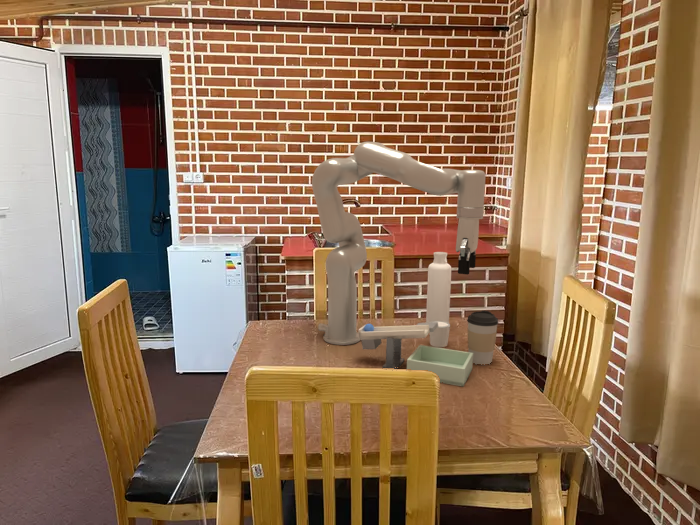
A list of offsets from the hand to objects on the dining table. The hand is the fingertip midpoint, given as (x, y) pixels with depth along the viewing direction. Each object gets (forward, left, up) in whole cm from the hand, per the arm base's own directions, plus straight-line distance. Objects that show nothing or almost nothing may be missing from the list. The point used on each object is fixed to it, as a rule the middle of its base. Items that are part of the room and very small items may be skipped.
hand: (466, 270), depth 154 cm
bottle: (-14, +24, -28) cm, 39 cm away
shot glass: (-10, +10, -28) cm, 31 cm away
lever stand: (-18, -13, -28) cm, 35 cm away
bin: (-4, -13, -28) cm, 31 cm away
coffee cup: (+5, +1, -28) cm, 28 cm away
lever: (-17, -10, -22) cm, 29 cm away
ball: (-26, -13, -18) cm, 34 cm away
